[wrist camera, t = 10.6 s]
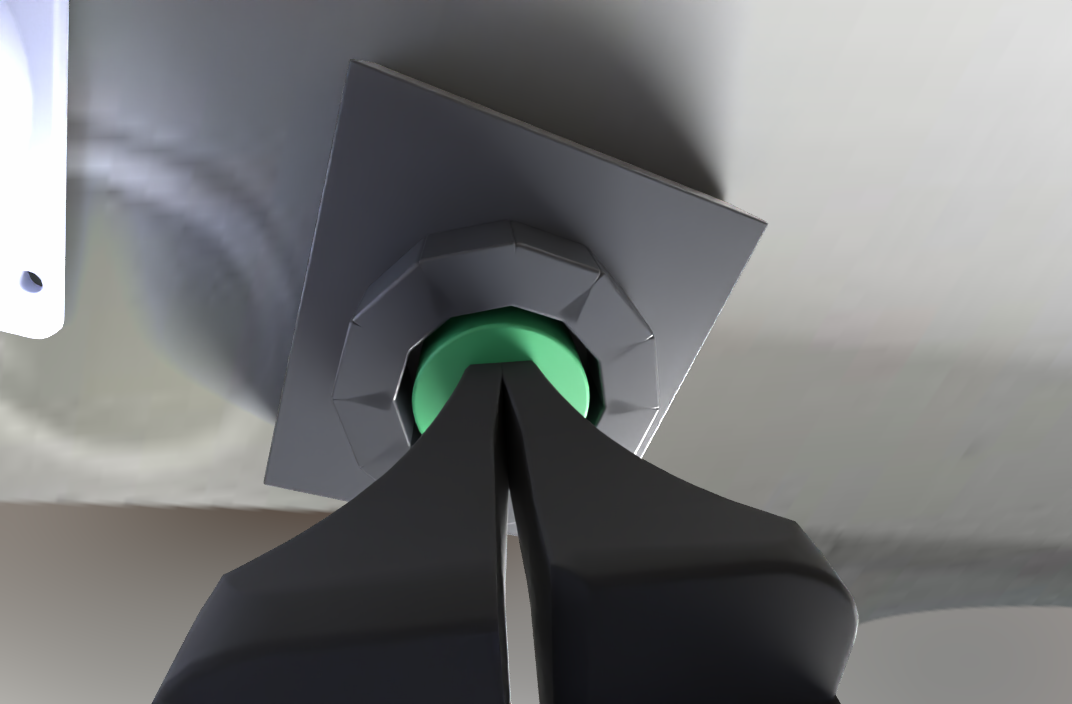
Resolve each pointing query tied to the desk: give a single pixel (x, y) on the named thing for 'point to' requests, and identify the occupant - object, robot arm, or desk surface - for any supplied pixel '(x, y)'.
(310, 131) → the desk surface
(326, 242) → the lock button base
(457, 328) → the button
